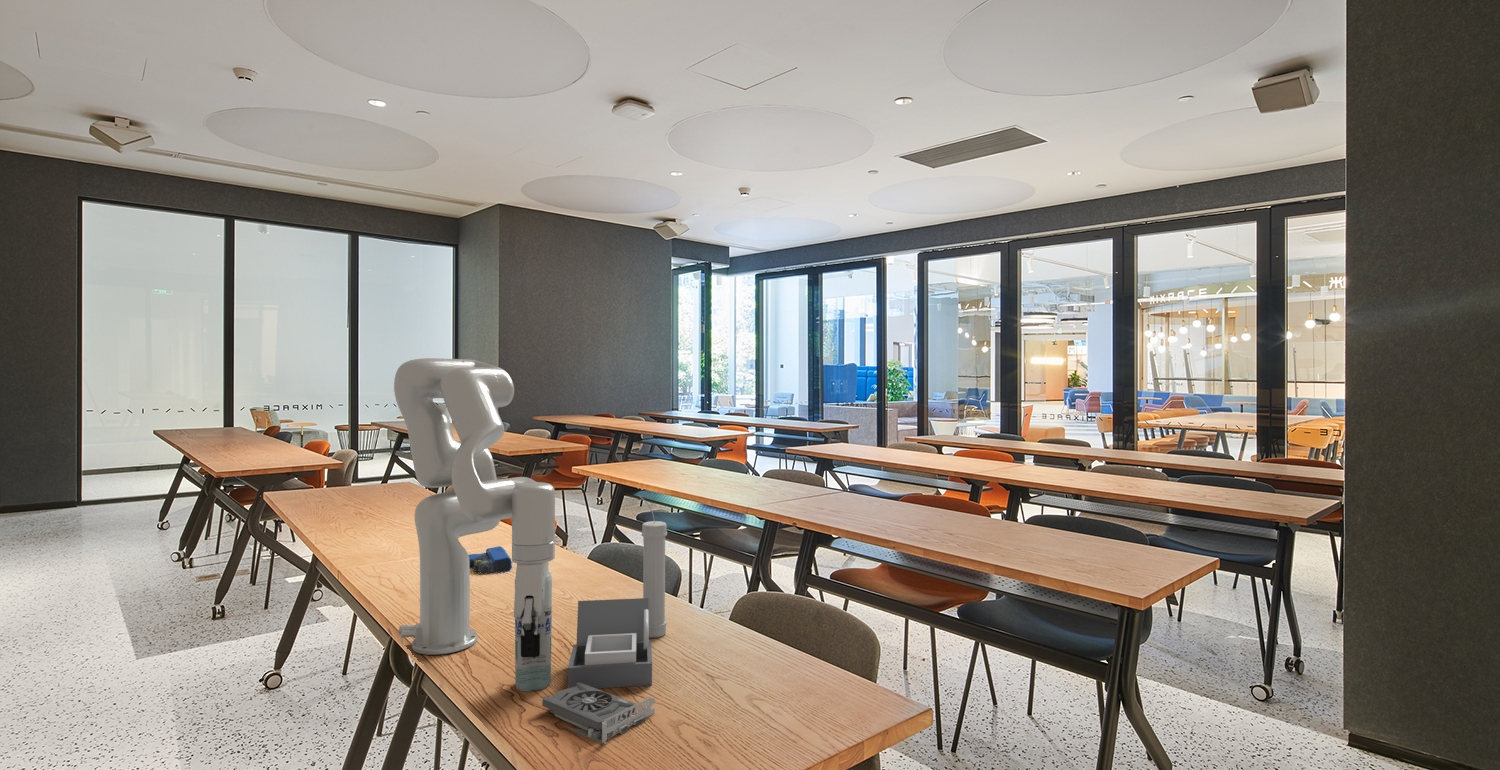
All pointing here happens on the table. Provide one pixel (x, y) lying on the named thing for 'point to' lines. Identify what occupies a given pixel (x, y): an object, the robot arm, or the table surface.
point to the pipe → (654, 574)
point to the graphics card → (596, 711)
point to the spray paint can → (538, 669)
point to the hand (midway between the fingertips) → (533, 647)
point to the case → (612, 644)
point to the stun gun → (491, 561)
